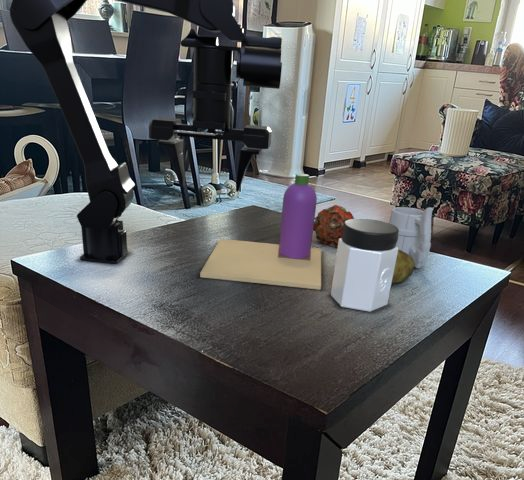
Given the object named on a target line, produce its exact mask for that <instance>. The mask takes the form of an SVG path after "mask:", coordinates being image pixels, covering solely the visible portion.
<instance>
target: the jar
mask: <svg viewBox="0 0 524 480" xmlns="http://www.w3.org/2000/svg"><path fill="white" fill-rule="evenodd" d="M398 233H399V229H398V228H397V227H396V226H394V225H392V224H390V223H389V222H387V221H384V220H378V219H372V218H371V219H370V218H354V219H351V220H347V221H346V222H345V223H344V226H343V233H342V238H340V239H339V241H338V246H337V247H336V248H337V249H336V255H335V262H334V270H333V276H332V283H331V291H330V296H331V298H333V299H334V300H335V302H336V303H337V304H338V305H339V306H340V307H341V308H346V309H351V310H357V311H364V312H368V313H371V312H373V311H376V310H378V309H380V308H383V307H386V306H387V305H388V303H389V297H390V293H391V292H390V291H391V289H392V284H391V283H392V278H393V273H394V268H395V263H396V258H397V253H398V247H397V246H396V243H397V241H398Z"/></svg>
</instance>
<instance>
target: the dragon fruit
mask: <svg viewBox="0 0 524 480" xmlns="http://www.w3.org/2000/svg"><path fill="white" fill-rule="evenodd" d="M351 219H355V217H354V215H353V214H352V213H351V211H347V209H346V207H344V206H341V205H338V204H334V205H332V206H330V207H327V208H323V209H322V210H320V211H319V212H317V216H315V219H314V228H313V232H315V238H316V240H317V241H318V242H319V243H322V244H326V245H328V246H330V247H333V248H338V241H339V239H340V238H342V233H343V226H344V223H345V222H346V221H347V220H351Z"/></svg>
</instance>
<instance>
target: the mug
mask: <svg viewBox="0 0 524 480" xmlns="http://www.w3.org/2000/svg"><path fill="white" fill-rule="evenodd" d="M433 211H434V208H433V207H426V208H425V209H424V210H422V209H418V208H415V207H407V206H406V207H404V206H397V207H393V208H392V209H391V211H390V212H391V213H390V218H389V222H388V223H390V224H392V225H394V226H396V227H397V228H398V229H399V233H398V241H397V243H396V246H397V247H398V249H399V250H401V251H403V252H405V253H407V254H408V255H410V256H411V257H412V258H413V260H414V263H415V266H414V268H416V269H421V268H422V267H423V265H424V263H426V261H427V259H428V257H429V253H430V249H431V247H432V243H431V241H432V240H431V239H432V215H433Z"/></svg>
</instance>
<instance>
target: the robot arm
mask: <svg viewBox="0 0 524 480" xmlns="http://www.w3.org/2000/svg"><path fill="white" fill-rule="evenodd" d="M87 1H88V0H12V1H11V4H10V7H9V17H10V20H11V24H13V27H14V28H15V30H16V31H17V33H18V36H19V37H20V38H21V41H22V42H23V43H24V45H25V46H26V48H27V49H28V51H30V53H31V54H32V55H33V57H34V58H35V59H36V61H37V62H38V63H39V64H40V66H41V67H42V69H43V70H44V72H45V75H46V77H47V79H48V82H49V85H50V87H51V89H52V92H53V94H54V96H55V99H56V101H57V103H58V106H59V108H60V111H61V113H62V116H63V117H64V120H65V122H66V125H67V128H68V130H69V132H70V135H71V137H72V139H73V142H74V143H75V146H76V148H77V151H78V153H79V156H80V158H81V161H82V162H83V167H84V179H85V180H84V181H85V187H86V192H87V194H88V199H89V202H88V204H86V205H85V206H84V207H83V208H82V209H81V210H80V211H79V212H77V214H76V218H77V220H78V222H79V225H80V228H81V238H82V239H81V240H82V250H83V254H81V255H80V256H79V260H80V261H86V262H94V263H104V264H105V263H106V264H118V263H119V262H120V261H121V260H122V259H123V258H124V257H125V256H127V255H128V253H129V249H128V238H127V230H126V229H124V221H123V220H119V218H121V217H122V214H123V213H124V212H125V211H126V210H127V208H128V207H129V206H130V205H131V204H132V202H133V199H134V195H135V194H134V193H135V192H134V187H135V186H136V183H135V182H134V181H133V180H132V178H131V176H130V173H129V172H130V171H129V168H128V165H127V162H126V161H124V162H122V163H120V164H118V163H117V161H116V160H115V159H114V158H113V157H112V155H111V153H110V151H109V149H108V146H107V144H106V141H105V139H104V136H103V134H102V131H101V128H100V126H99V124H98V121H97V119H96V115H95V114H94V111H93V108H92V106H91V104H90V101H89V99H88V96H87V93H86V90H85V88H84V86H83V83H82V80H81V78H80V75H79V73H78V70H77V68H76V66H75V63H74V60H73V59H74V58H73V50H72V39H71V34H70V30H69V26H68V21H70V20H71V19H72V18H73V17H74V16H75V15H76V14H77V13H78V12H79V11H80V10H81V8H83V6H84V5H85V4H86V2H87ZM114 1H115V2H120V3H124V4H128V5H133V6H137V7H141V8H146V9H151V10H154V11H159V12H162V13H167V14H171V15H173V16H175V17H177V18H179V19H181V20H183V21H186V22H188V23H190V24H192V25H195V26H197V27H199V28H201V29H203V30H206V31H208V32H211V33H216V34H217V33H221V34H222V35H223V36H225V37H226V38H227V39H228V40H229V41H230V42H232V43H241V45H240V46H231V45H230V46H229V45H220V44H219V37H218V36H211V35H210V36H209V35H199V34H198V33H197V31H196V29H193V28H191V29H190V30H189V31H188V34H187V35H186V36H185V37H184V38H183V39H182V40H180V46H181V47H184V48H192V49H193V90H192V102H191V109H190V117H191V118H192V124H186V123H182V119H181V118H173V117H164V116H160V117H156V118H153V119H151V121H150V122H149V125H148V139H150V140H157V146H159V147H163V149H164V151H165V152H166V155H167V156H168V158H169V160H170V162H171V165H172V167H173V169H174V172H175V175H176V178H177V181H178V183H179V185H180V187H182V188H184V187H185V183H186V182H185V181H186V173H185V163H184V162H185V161H184V152H183V151H184V139H183V138H181V137H185V138H196V139H205V140H206V139H208V140H217V141H218V140H220V141H230V142H240V143H241V142H242V145H243V147H241V148H240V151H239V157H238V165H237V172H236V180H235V192H236V193H239V192H240V190H241V186H242V183H243V181H244V178H245V175H246V173H247V170H248V167H249V165H250V163H251V161H252V159H253V157H254V155H260V154H261V153H262V151H263V150H269V148H270V147H271V145H272V129H271V128H270V127H269V126H268V125H267V126H264V125H256V124H255V125H253V124H246V125H245V126H244V127H243V129H241V128H234V118H235V110H234V107H233V105H232V80H233V79H232V78H233V56H234V55H233V53H234V52H236V65H235V67H236V69H235V74H236V75H235V78H236V79H239V80H242V86H243V87H252V88H262V89H263V88H264V89H276V90H280V88H281V81H282V71H283V70H282V68H283V62H282V43H283V38H282V37H280V36H270V37H264V36H263V37H261V36H250V35H245V34H244V28H243V27H241V26H240V25H239V24H238V22H237V19H236V18H235V15H236V14H235V13H236V12H235V11H236V8H235V3H234V0H114ZM200 129H205V130H206V131H200Z"/></svg>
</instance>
